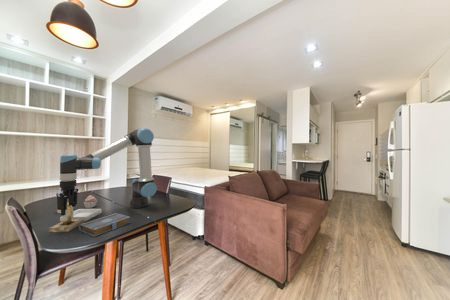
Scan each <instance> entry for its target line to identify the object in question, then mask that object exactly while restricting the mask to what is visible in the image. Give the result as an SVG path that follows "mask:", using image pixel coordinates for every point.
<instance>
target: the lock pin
mask: <svg viewBox="0 0 450 300" xmlns="http://www.w3.org/2000/svg"><path fill="white" fill-rule="evenodd" d="M66 209H68V210H67V221H63V225H70V224H72V205H67V207H66Z"/></svg>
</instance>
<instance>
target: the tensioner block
mask: <svg viewBox="0 0 450 300" xmlns="http://www.w3.org/2000/svg"><path fill="white" fill-rule="evenodd" d="M82 223H84V222H83V219H72V224H70V225H63V221H62V222H60V221H59V222H58V223H56V224H55V225H52V226H50V227H49V228H48V233H69V232H70V231H72V230H74V229H75V228H77V227H79V225H80V224H82Z"/></svg>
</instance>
